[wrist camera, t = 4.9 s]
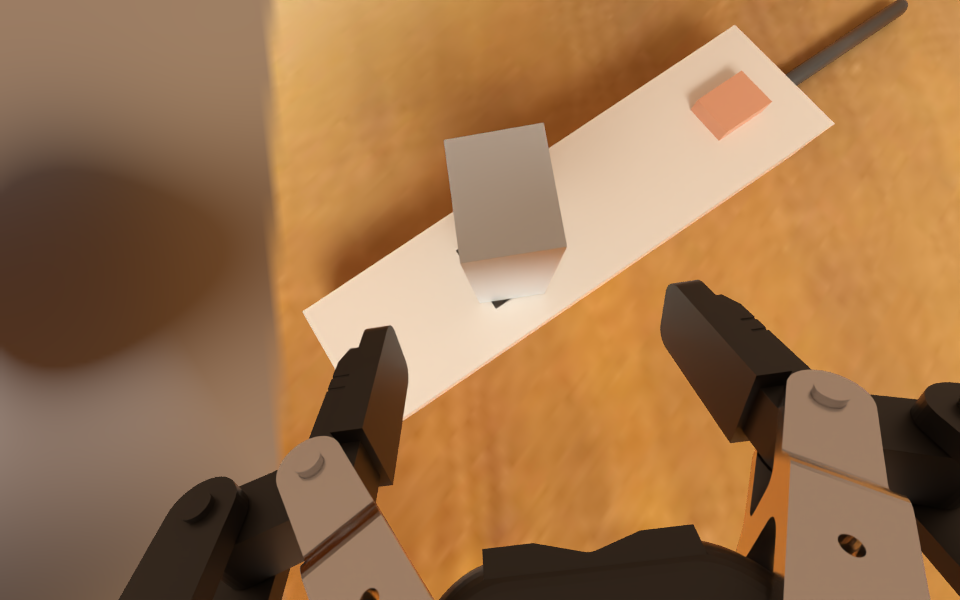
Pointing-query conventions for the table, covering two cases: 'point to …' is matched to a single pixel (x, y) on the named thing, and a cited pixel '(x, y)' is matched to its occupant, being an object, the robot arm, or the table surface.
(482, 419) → the table surface
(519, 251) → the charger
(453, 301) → the power strip
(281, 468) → the robot arm
